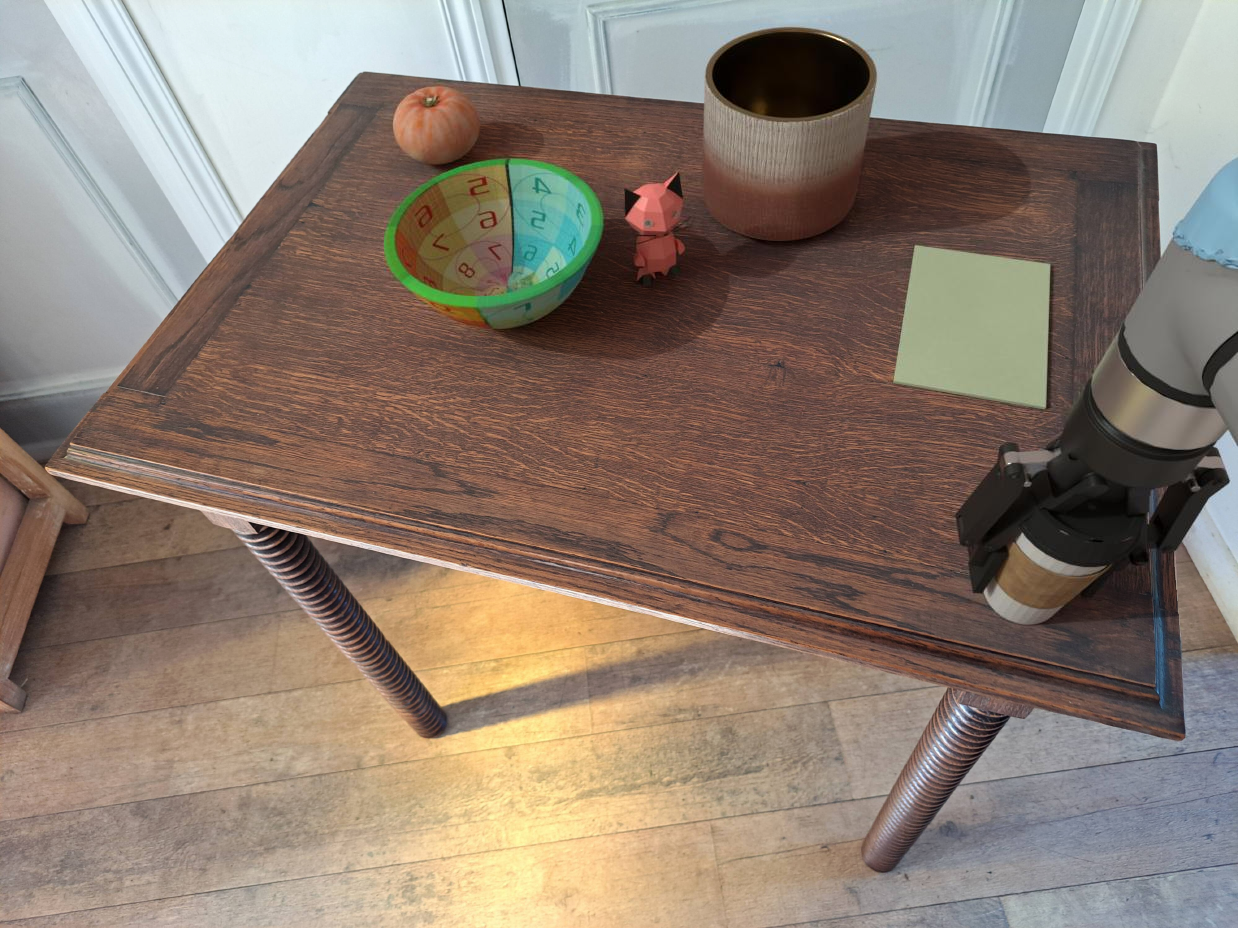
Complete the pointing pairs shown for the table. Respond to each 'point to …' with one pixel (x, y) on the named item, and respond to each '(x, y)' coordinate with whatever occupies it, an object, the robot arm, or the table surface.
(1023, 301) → the sage mat
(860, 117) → the planter
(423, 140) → the pumpkin
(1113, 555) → the coffee cup
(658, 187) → the cat figurine
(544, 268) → the bowl
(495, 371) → the table surface
